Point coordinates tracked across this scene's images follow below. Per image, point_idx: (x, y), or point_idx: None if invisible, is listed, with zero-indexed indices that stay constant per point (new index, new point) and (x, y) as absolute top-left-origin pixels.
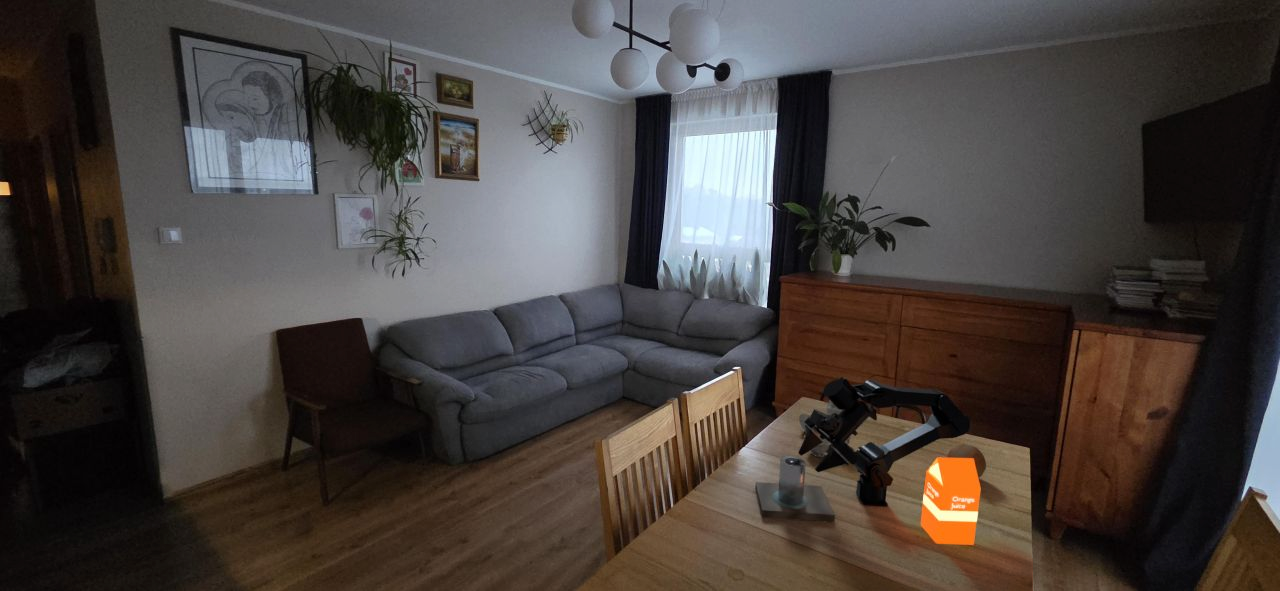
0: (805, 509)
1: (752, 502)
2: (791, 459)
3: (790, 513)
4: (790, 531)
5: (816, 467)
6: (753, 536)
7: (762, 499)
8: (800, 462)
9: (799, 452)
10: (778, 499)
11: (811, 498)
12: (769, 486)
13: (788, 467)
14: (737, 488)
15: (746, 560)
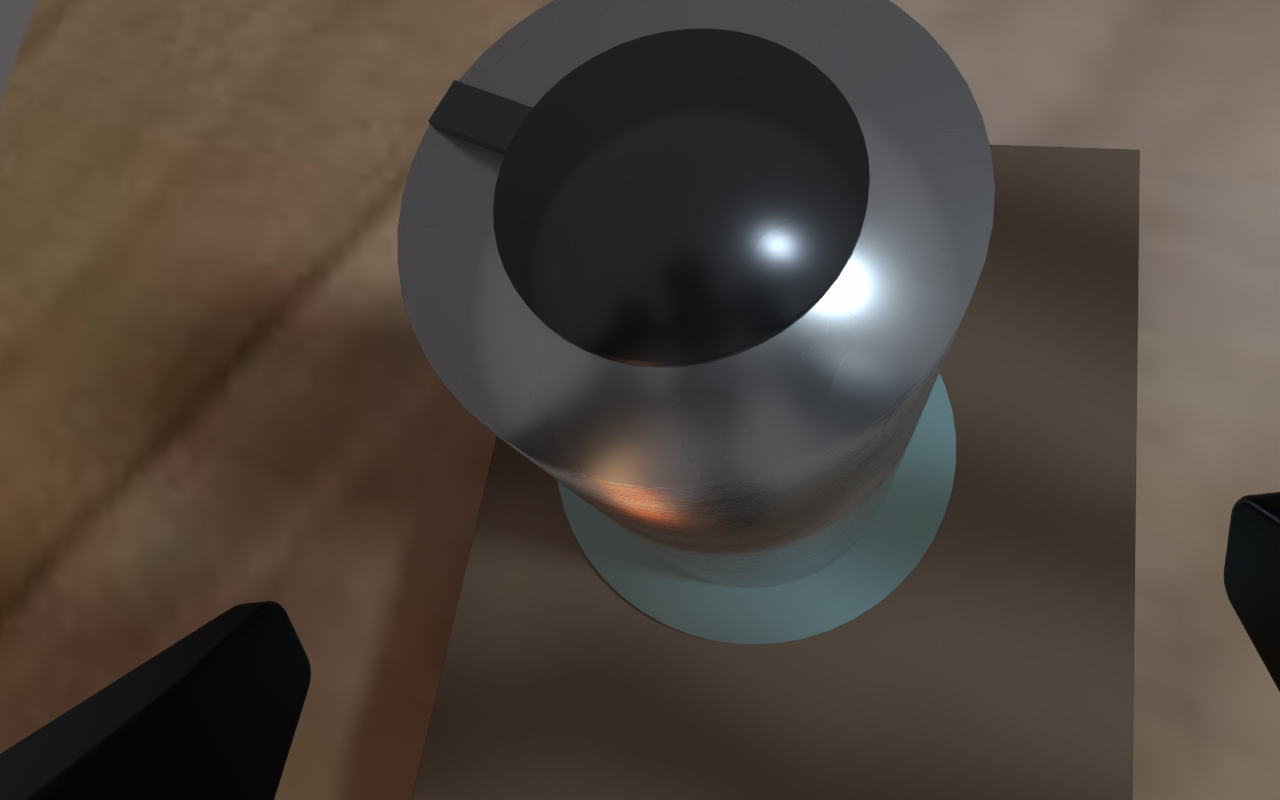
0: (540, 544)
1: None
2: (773, 172)
3: None
4: (377, 349)
5: (221, 629)
6: (369, 79)
7: None
8: (612, 346)
9: (1260, 509)
10: None
11: (760, 716)
12: (1040, 282)
13: (483, 75)
14: (1093, 34)
15: (169, 15)
